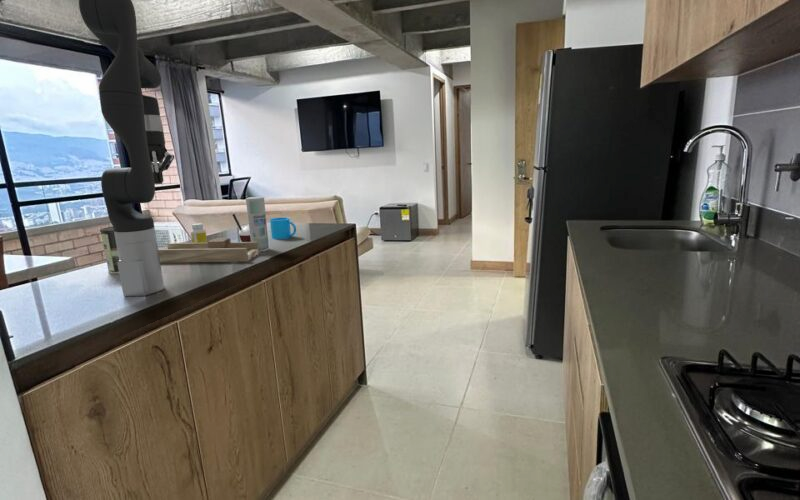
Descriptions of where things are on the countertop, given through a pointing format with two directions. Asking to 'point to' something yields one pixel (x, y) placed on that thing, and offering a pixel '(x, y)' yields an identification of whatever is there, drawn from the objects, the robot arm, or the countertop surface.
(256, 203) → the spray can
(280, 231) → the mug
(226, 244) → the walnut block
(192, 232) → the supplement bottle
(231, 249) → the frame
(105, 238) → the coffee can
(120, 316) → the countertop surface
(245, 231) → the cocoa
